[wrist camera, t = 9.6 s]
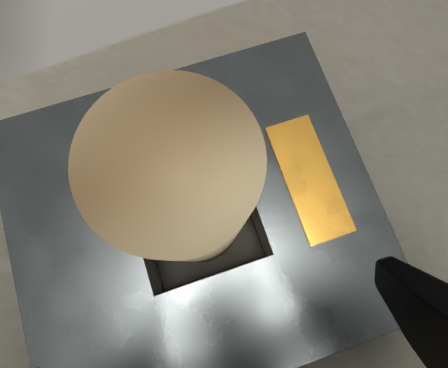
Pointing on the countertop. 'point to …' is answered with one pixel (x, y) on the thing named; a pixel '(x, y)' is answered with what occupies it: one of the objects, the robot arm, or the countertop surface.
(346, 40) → the countertop surface
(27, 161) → the grey peg hole board
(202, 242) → the barrel peg
